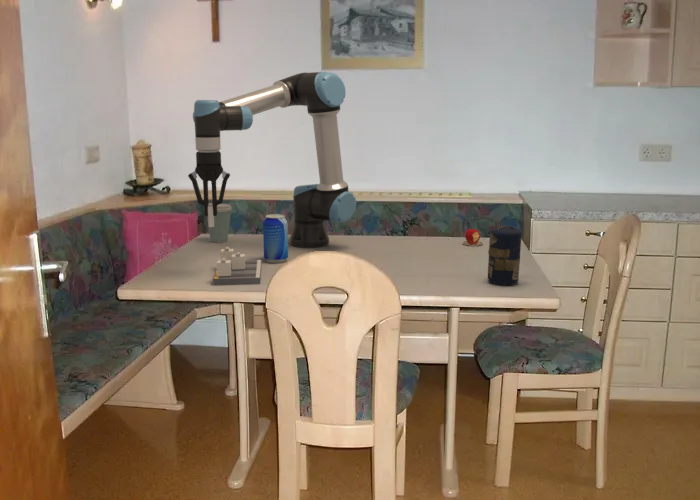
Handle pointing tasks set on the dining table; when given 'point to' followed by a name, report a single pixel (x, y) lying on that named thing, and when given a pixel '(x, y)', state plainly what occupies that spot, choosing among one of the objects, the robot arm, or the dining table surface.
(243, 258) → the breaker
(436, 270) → the dining table surface
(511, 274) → the canister
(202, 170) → the robot arm
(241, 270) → the panel
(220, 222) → the disposable coffee cup
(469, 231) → the apple
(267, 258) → the beer can
